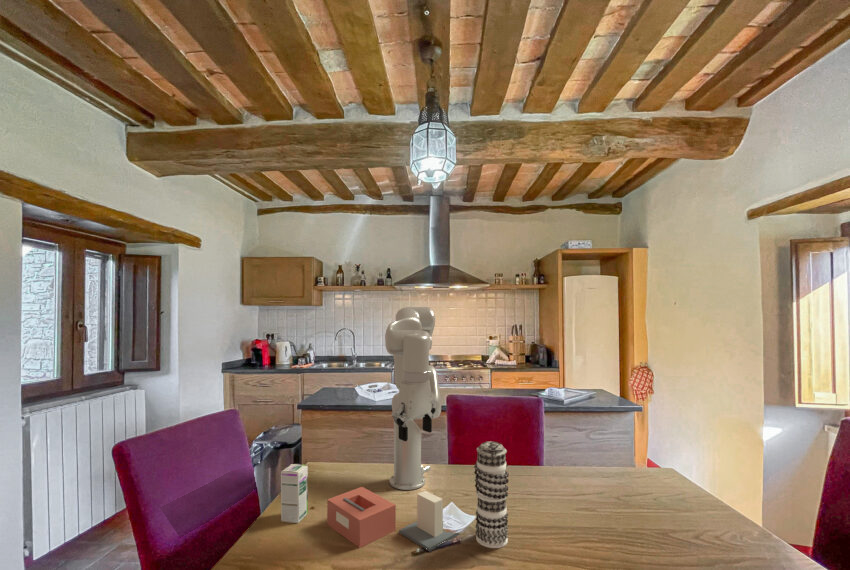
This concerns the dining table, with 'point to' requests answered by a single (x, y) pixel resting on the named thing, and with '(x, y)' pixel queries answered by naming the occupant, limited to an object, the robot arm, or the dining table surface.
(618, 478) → the dining table surface
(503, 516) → the white patterned cylinder
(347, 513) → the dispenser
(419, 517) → the cream upright pillar
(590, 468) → the dining table surface
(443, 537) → the coaster
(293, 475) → the syrup box
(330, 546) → the dining table surface
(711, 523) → the dining table surface
